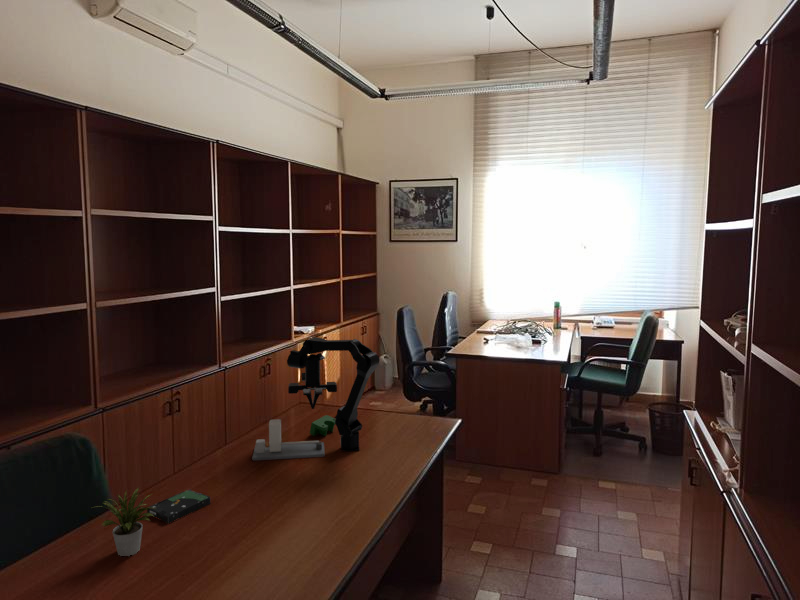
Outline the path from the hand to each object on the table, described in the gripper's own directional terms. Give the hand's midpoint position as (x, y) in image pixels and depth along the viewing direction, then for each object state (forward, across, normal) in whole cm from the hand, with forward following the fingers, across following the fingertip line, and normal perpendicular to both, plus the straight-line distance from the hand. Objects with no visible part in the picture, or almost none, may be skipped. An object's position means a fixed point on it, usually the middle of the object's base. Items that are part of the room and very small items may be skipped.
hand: (312, 408), depth 227 cm
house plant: (+13, +49, +74) cm, 90 cm away
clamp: (+14, -5, -8) cm, 17 cm away
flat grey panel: (+13, +9, +11) cm, 19 cm away
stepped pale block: (+12, +14, +11) cm, 21 cm away
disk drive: (+14, +40, +51) cm, 66 cm away
